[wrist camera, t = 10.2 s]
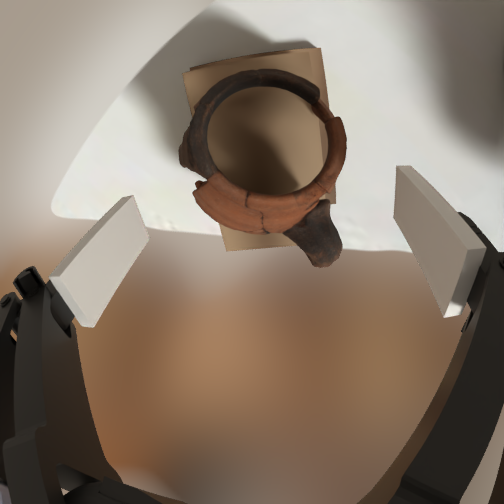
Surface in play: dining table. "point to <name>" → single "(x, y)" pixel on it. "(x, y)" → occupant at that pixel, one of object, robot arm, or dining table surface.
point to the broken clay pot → (260, 205)
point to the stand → (264, 132)
